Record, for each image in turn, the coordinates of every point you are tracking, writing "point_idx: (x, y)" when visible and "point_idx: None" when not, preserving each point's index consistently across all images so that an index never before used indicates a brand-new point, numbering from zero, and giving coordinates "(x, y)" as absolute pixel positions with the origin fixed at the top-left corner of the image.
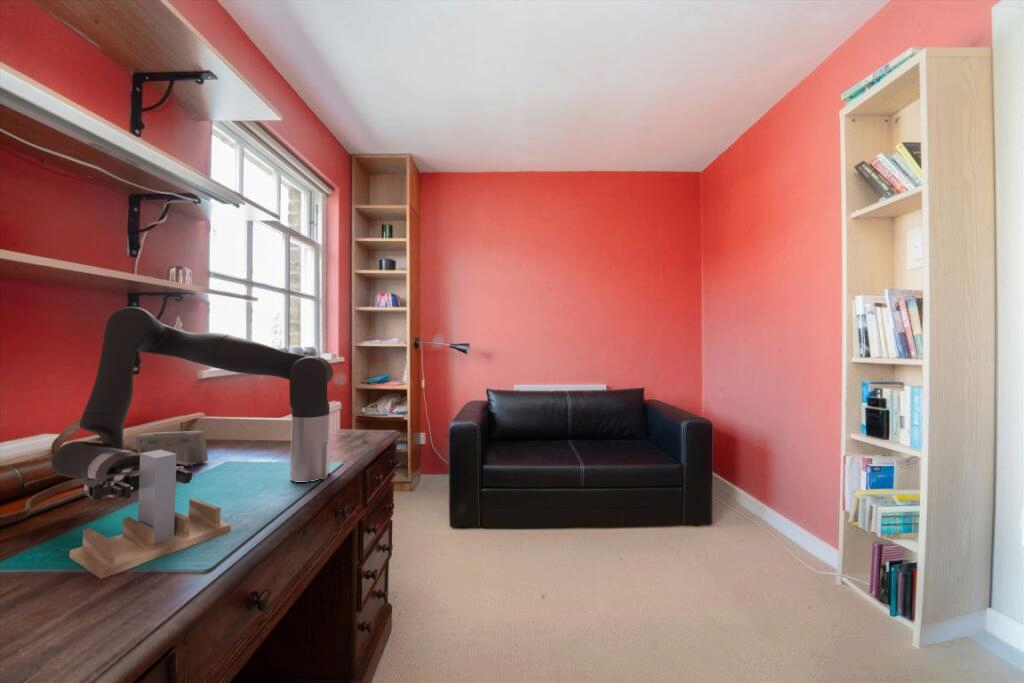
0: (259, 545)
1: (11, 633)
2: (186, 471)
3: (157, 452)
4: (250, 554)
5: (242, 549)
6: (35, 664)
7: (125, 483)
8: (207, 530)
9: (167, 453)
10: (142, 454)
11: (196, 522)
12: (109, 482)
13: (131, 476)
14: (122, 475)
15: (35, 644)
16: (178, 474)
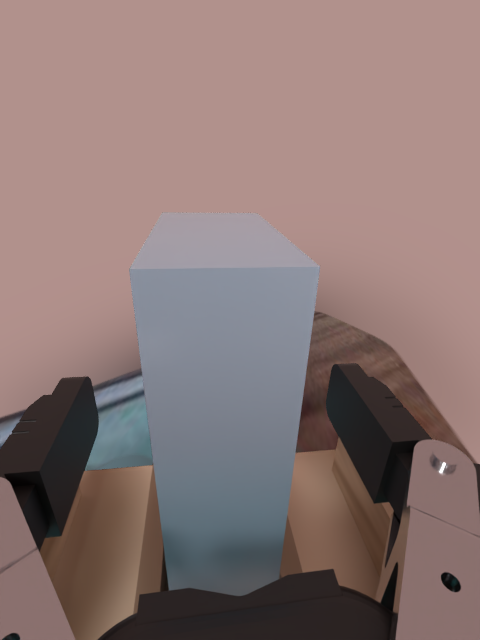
0: (109, 381)
1: (427, 398)
2: (68, 384)
3: (207, 239)
4: (141, 369)
5: (133, 388)
6: (373, 341)
7: (362, 399)
8: (112, 483)
9: (181, 222)
10: (302, 256)
11: (64, 605)
12: (475, 472)
13: (352, 589)
14: (425, 518)
15: (386, 364)
16: (62, 464)
